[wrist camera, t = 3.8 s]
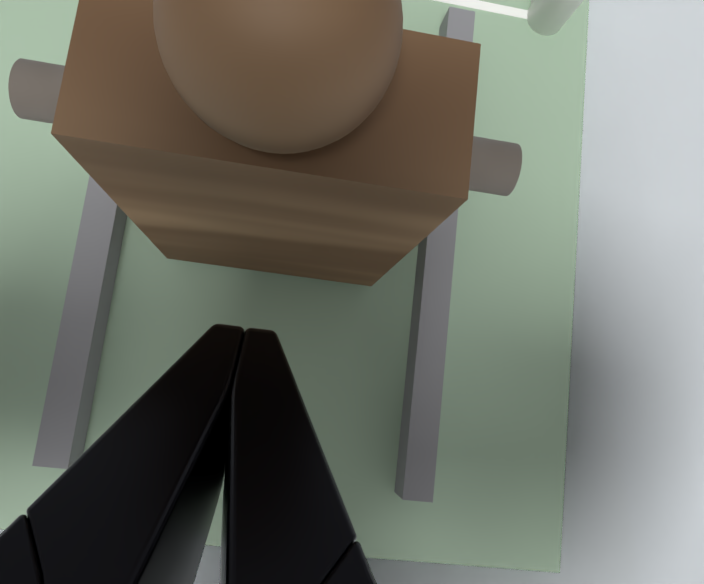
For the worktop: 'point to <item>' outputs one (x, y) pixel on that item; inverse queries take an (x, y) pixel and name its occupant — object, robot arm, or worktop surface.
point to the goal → (530, 12)
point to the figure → (270, 128)
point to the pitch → (324, 315)
